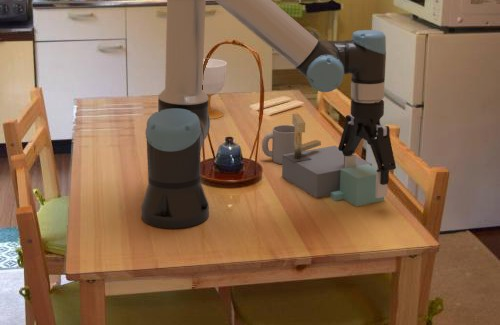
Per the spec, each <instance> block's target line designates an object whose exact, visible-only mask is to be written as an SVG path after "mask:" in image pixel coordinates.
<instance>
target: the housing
mask: <svg viewBox="0 0 500 325" xmlns="http://www.w3.org/2000/svg"><path fill="white" fill-rule="evenodd" d="M338 147H339V146H338V145H331V146H325V147H320V148H314V149H313V148H312V149H308V150H306V151H303V152H301V158H294V153H290V154H284V155H283V158H282V164H281V165H282V166H281V170H282V171H281V172H282V173H281V177H282V178H283V179H285V180H286V181H288V182H290V184H293V185H295V186H296V187H298V188H300V189H301V190H302V191H304V192H306V193H308V194H309V195H311V196H312V197H314V198H315V199H318V198H322V197H328V196H331V192H336V191H340V174H341V169H344V168H345V167H344V155H343V152H342V151H339V149H338ZM352 155H354V154H352ZM366 164H369V165H371V166H373V163H370V162H369V161H367V160H365V159H363V158H361V157H359V156H358V155H356V166H360V165H366Z"/></svg>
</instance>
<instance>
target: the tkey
mask: <svg viewBox="0 0 500 325" xmlns="http://www.w3.org/2000/svg"><path fill="white" fill-rule="evenodd" d="M291 117H292V122H291V123H292V126H295V143H294V158H301V152H303V151H307V150H312V149H313V148H314V149H315V148H317V147H320V146H321V145H322V141H321V140H318V139H314V140H311V141H307V142H305V143H303V133H306V122H305V120H304V119H303V117H302V116H301V114H300V113H292V116H291Z"/></svg>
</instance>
